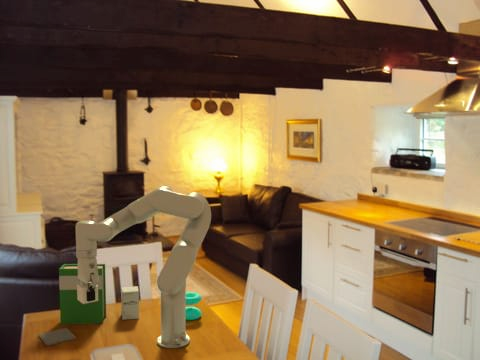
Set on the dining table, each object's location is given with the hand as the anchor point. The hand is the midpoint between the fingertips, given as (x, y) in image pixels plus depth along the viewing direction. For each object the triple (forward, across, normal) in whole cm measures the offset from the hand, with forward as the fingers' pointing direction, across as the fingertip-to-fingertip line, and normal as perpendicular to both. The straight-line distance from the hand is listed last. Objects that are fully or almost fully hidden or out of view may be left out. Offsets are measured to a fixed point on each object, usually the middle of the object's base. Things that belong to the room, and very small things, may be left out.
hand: (87, 297), depth 195 cm
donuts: (+18, -2, -45) cm, 49 cm away
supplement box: (+18, +14, -24) cm, 33 cm away
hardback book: (+18, +22, -6) cm, 29 cm away
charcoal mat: (+17, +11, +9) cm, 22 cm away
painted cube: (+1, 0, 0) cm, 1 cm away
